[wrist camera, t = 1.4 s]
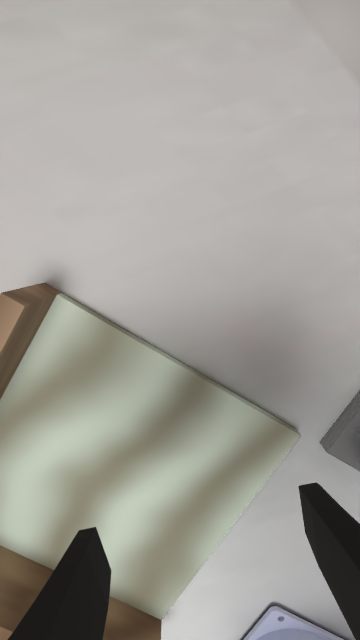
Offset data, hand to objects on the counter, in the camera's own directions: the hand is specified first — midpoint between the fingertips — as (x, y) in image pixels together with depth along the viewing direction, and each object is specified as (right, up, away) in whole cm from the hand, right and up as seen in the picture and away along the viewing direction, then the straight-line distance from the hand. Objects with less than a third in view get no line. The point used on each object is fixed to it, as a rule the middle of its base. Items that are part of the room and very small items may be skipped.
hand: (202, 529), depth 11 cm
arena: (-5, -3, +11) cm, 13 cm away
